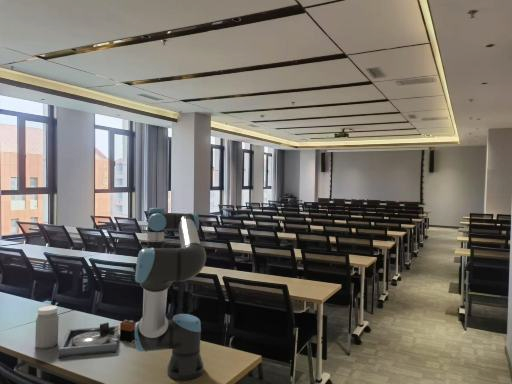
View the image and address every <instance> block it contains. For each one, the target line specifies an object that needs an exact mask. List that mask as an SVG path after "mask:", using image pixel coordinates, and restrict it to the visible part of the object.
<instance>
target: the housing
mask: <svg viewBox="0 0 512 384" xmlns="http://www.w3.org/2000/svg"><path fill="white" fill-rule="evenodd" d="M119 330H120V328H119V325H115V326H114V325H113V326H109V335H110V341H109V343H107V344H97V345H85V346H74V347H72V339H73V338H74V337H75V336H77V335H79V334H82V333H87V332H97V331H98V332H100V326H99V327H88V328H87V327H86V328H74V329H72V328H71V329H67V331H66V334H65V336H64V337H63V340H62V342H61V344H60V346H59V348H58V359H62V358H75V357H81V356H82V357H83V356H93V355H94V356H95V355H104V354H105V355H106V354H116V352H117V345H118V341H120V338H119Z"/></svg>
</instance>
